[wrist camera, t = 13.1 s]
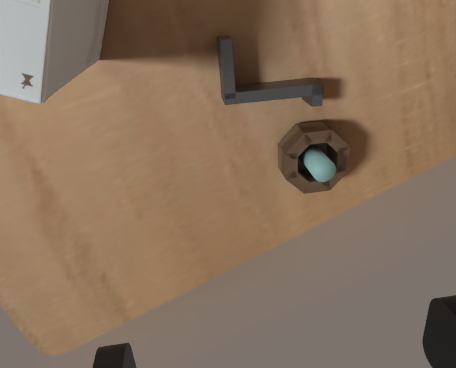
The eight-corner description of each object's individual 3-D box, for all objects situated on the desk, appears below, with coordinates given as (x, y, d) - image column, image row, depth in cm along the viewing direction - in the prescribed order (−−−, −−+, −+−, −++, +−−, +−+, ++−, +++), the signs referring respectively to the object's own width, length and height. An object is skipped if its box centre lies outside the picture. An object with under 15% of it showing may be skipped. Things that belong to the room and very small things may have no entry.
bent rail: (216, 36, 35) (220, 40, 32) (313, 28, 36) (324, 30, 33) (222, 107, 38) (226, 115, 35) (312, 98, 39) (322, 105, 36)
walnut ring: (277, 125, 39) (284, 135, 36) (339, 118, 39) (351, 127, 37) (278, 183, 42) (286, 195, 39) (336, 175, 42) (347, 187, 39)
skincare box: (112, -12, 33) (65, -20, 19) (99, 66, 35) (48, 111, 21) (4, -48, 31) (-140, -86, 17) (-1, 38, 33) (-131, 67, 19)
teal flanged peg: (283, 130, 40) (298, 149, 35) (330, 124, 40) (352, 143, 35) (283, 174, 42) (298, 198, 37) (328, 169, 42) (348, 192, 37)
